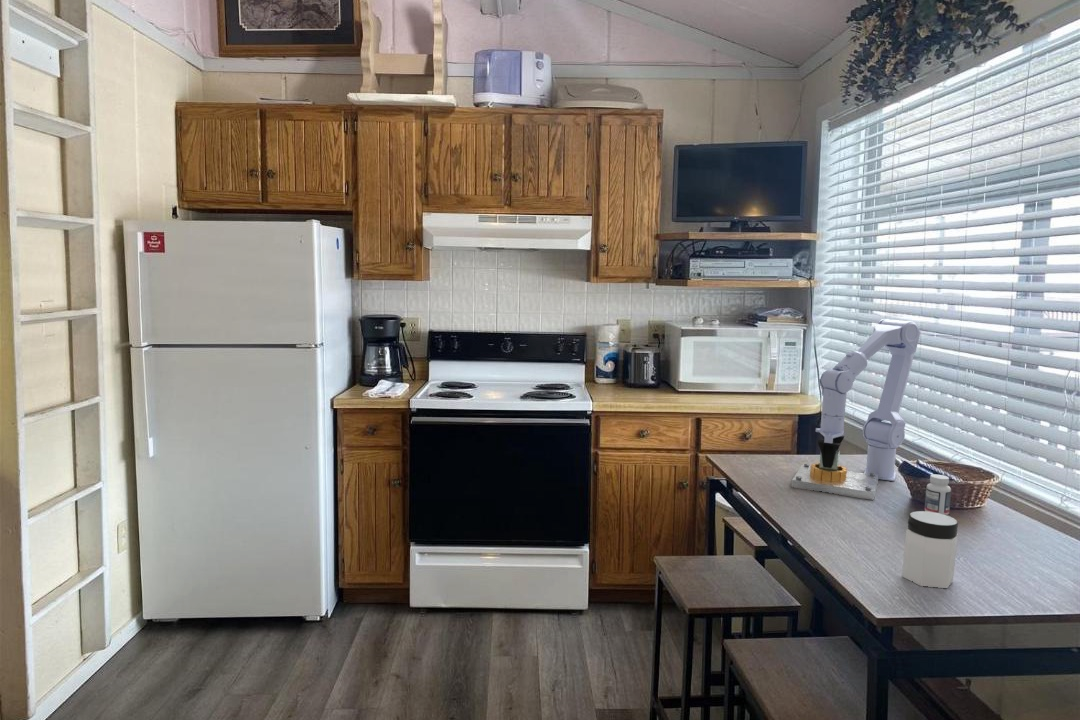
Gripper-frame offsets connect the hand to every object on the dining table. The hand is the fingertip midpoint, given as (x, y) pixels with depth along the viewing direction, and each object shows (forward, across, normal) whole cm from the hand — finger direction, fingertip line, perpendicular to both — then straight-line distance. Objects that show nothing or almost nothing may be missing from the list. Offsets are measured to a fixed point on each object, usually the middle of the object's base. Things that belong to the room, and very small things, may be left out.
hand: (829, 464), depth 201 cm
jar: (+6, +57, +24) cm, 62 cm away
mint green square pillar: (+3, 0, 0) cm, 3 cm away
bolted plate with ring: (+5, 0, +2) cm, 6 cm away
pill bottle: (+6, +11, +26) cm, 29 cm away
